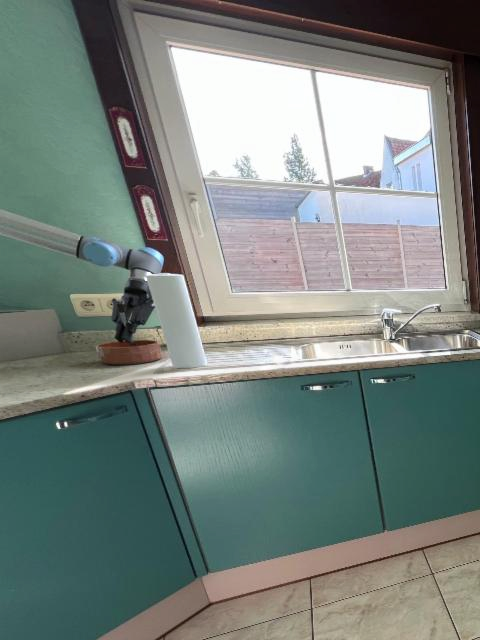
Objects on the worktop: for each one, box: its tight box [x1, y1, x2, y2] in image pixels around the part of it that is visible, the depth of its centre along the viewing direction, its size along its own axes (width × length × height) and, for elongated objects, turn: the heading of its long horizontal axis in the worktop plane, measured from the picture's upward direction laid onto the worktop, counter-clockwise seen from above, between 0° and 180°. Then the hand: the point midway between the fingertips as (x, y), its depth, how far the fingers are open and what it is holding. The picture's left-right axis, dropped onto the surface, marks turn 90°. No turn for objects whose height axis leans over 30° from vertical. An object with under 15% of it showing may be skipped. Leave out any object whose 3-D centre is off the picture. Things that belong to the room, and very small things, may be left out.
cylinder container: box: [146, 272, 208, 369], centre depth 163 cm, size 9×9×30 cm
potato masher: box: [116, 303, 136, 347], centre depth 170 cm, size 7×7×18 cm
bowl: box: [95, 339, 164, 366], centre depth 172 cm, size 16×16×6 cm
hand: (122, 340), depth 167 cm, fingers closed on potato masher
